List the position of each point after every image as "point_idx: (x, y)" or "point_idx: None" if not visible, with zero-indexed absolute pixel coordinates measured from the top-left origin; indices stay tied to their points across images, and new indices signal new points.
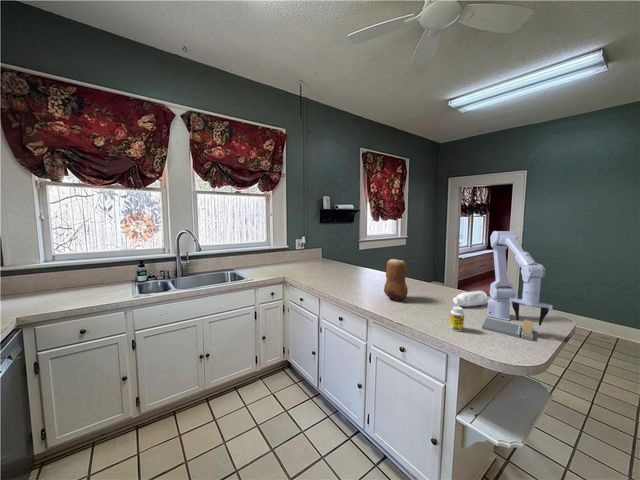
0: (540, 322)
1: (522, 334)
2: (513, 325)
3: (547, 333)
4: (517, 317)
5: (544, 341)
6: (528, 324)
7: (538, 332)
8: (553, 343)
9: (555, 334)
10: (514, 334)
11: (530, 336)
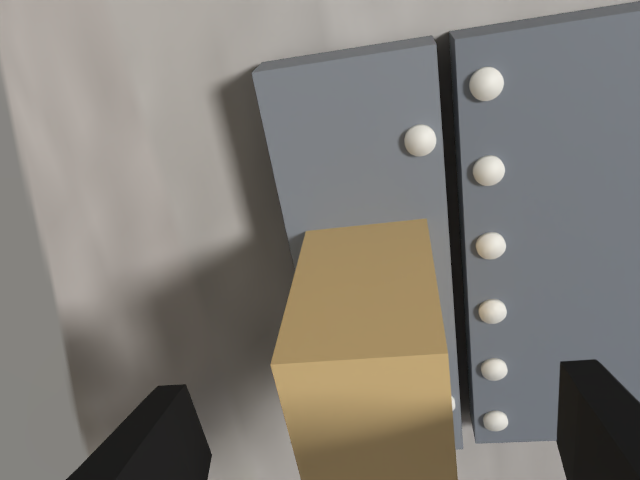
0: (130, 426)
1: (418, 91)
2: None
3: (210, 443)
4: (620, 409)
5: (153, 182)
6: (352, 319)
7: None
8: (63, 199)
9: None
10: (544, 25)
11: (296, 103)
